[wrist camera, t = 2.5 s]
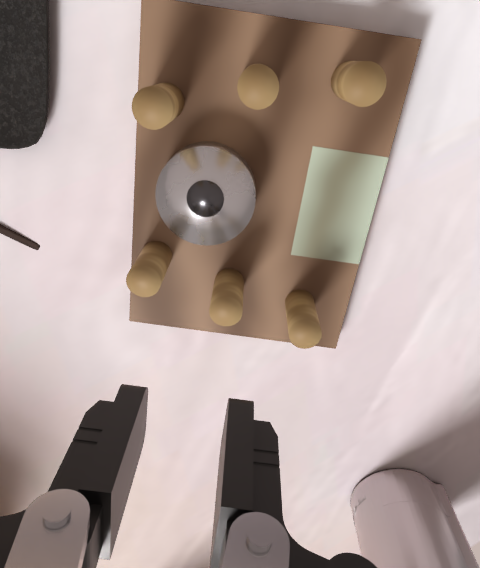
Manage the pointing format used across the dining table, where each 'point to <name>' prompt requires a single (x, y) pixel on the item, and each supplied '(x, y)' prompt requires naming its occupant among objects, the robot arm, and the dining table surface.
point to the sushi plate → (23, 78)
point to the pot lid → (206, 193)
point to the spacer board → (263, 165)
